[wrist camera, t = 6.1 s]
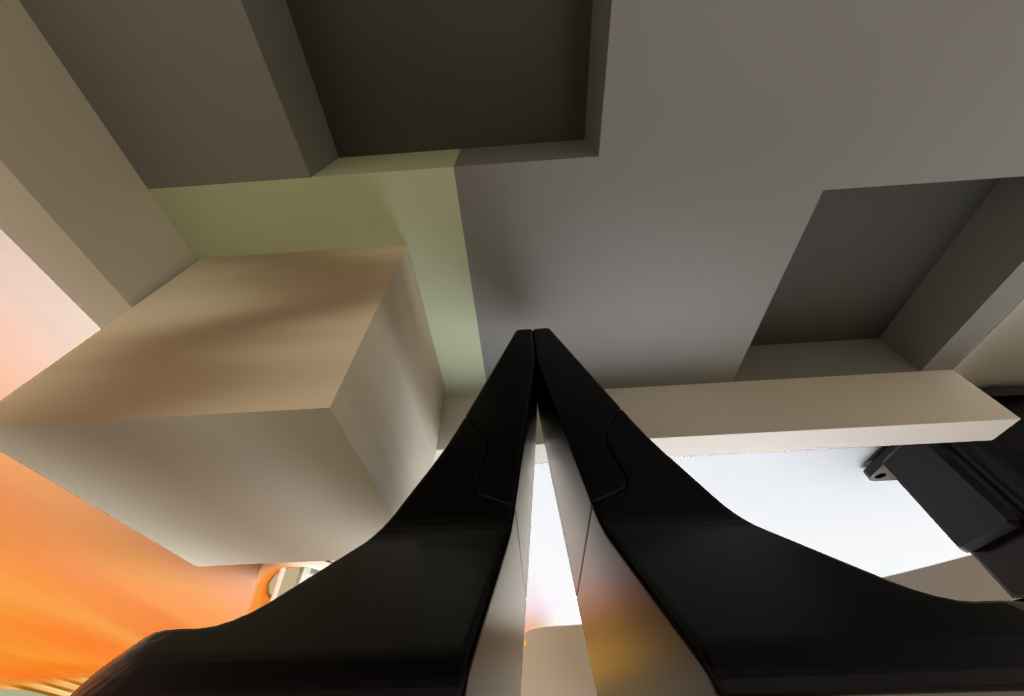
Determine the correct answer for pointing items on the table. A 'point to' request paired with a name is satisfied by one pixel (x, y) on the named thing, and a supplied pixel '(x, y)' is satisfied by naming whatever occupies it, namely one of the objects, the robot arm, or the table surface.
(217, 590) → the table surface
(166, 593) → the table surface
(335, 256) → the ivory block
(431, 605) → the robot arm
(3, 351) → the table surface
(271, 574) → the beer glass
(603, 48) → the trap deck
